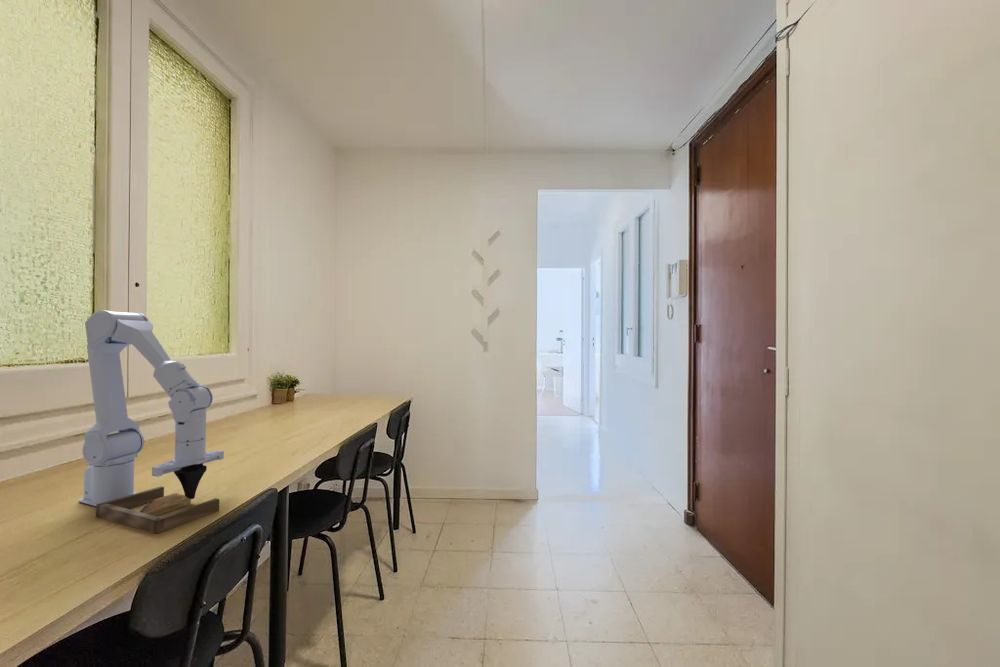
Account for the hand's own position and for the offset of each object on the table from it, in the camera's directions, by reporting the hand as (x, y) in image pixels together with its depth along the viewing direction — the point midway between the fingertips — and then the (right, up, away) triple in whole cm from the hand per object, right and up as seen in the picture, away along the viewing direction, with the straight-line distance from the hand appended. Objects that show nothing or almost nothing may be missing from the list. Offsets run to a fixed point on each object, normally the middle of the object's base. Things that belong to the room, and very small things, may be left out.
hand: (189, 498), depth 96 cm
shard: (-2, -1, -4) cm, 5 cm away
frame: (-2, -1, -5) cm, 6 cm away
